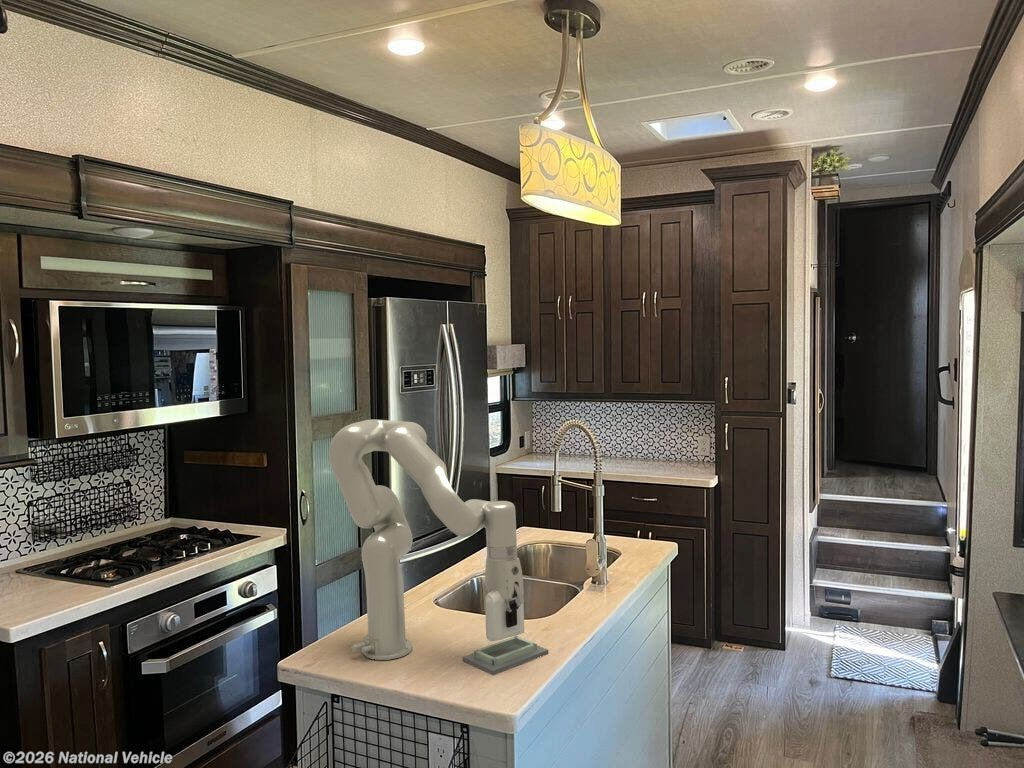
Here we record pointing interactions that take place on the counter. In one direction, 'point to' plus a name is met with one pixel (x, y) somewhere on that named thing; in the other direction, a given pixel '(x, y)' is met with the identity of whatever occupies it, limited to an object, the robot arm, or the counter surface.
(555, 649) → the counter surface
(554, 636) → the counter surface
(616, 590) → the counter surface
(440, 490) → the robot arm
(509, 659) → the dock
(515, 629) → the photo printer
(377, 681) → the counter surface
